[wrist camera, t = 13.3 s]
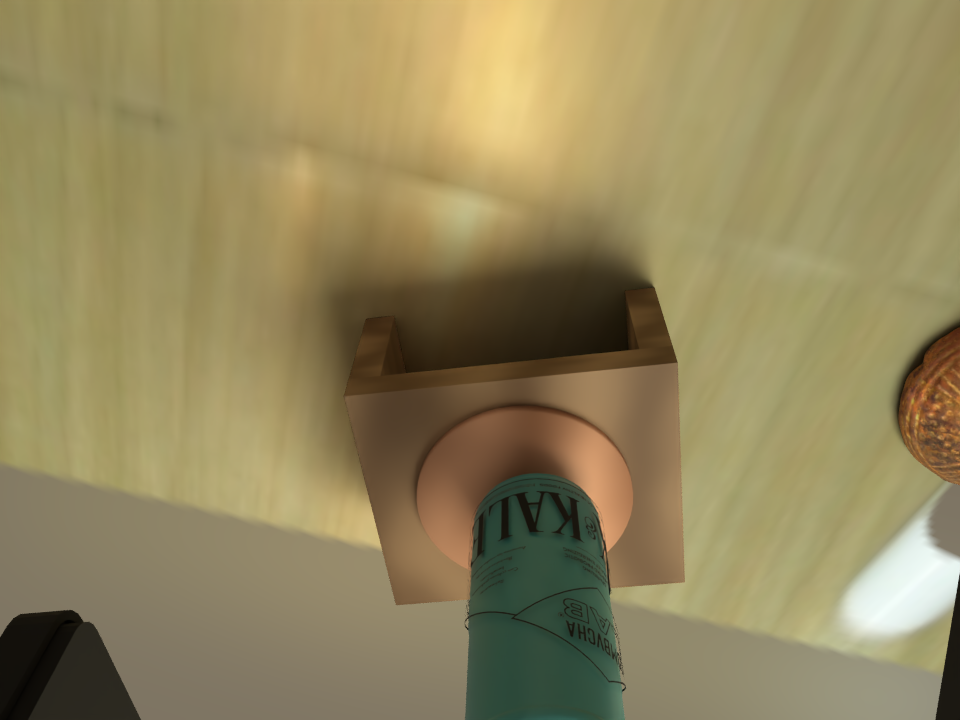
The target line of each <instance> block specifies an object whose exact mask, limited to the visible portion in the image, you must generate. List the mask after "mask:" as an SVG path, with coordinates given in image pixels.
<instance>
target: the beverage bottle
mask: <svg viewBox="0 0 960 720" xmlns="http://www.w3.org/2000/svg"><path fill="white" fill-rule="evenodd" d="M593 503H594V502H592V501H591V498H590V497H589V496H588V495H587V494H586V492H585V491H584V490H583V489H581V488H580V487H579V486H578V485H576V484H575V483H573V482H572V481H570V480H568V479H565V478H563V477H560V476H556V475H551V474H542V473H532V474H524V475H519V476H515V477H512V478H510V479H507V480H505V481H503V482H501V483H500V484H498V485H497V486H495V487H494V488H493V489H492V490H490V492H489V493H488V494H487V495H486V496H485V497H484V499H483V500H482V502H481V503H480V504H479V505H478V506H479V507H477V508H478V509H477V508H476V509H477V512H476V515H475V518H474V519H475V520H474V526H473V528H472V535H473V542H472V543H473V548H471V550H472V554H471V555H472V560H468V561H469V562H471V565H470V566H469V562H468V567H470V569H471V571H470V572H471V575H470V577H471V580H470V582H471V585H470V586H469V587H470V601H469V602H470V603H469V613H468V614H469V617H468V618H467V619H469V623H468V628H467V627H466V626H465V627H466V628H467V630H468V631H469V648H468V670H467V692H466V714H465V720H625V717H624V710H623V701H622V692H623V691H624V690H625V689H626V687H625V688H624V689H623V690H622V686H621V684H623V685H624V686H625V684H624V683H622V682H621V679H620V670H619V668H620V666H621V664H620V665H619V659H618V655H619V654H618V652H617V649H616V641H615V635H616V634H615V632H614V630H615V629H614V626H613V618H612V611H611V603H610V589H611V588H610V586H611V584H610V580H609V573H610V569H608V567H609V564H608V558H607V549H606V542H605V541H606V540H604V538H603V535H605V533H604V532H603V534H602V529H601V526H600V520H599V517H600V516H598V512H597V510H596V508H595V506H594V504H595V503H594V504H593ZM595 505H596V504H595ZM596 507H597V506H596ZM597 508H598V507H597ZM598 510H599V509H598ZM475 511H476V510H475ZM599 512H600V511H599ZM474 513H475V512H474ZM600 514H601V513H600ZM473 515H474V514H473ZM472 518H473V517H472ZM602 520H603V519H602ZM602 520H601V521H602ZM471 521H472V520H471ZM602 523H603V522H602ZM470 527H471V526H470ZM603 527H604V525H603ZM473 529H474V531H473ZM470 530H471V529H470ZM470 535H471V532H470ZM471 540H472V539H471ZM471 540H470V542H471ZM602 541H603V542H602ZM470 545H471V544H470ZM470 545H469V547H470ZM603 545H604V549H603ZM471 550H470V551H471ZM604 552H605V554H606V563H607V573H606V563H605V558H604ZM469 553H470V552H469ZM469 557H471V556H469ZM470 572H469V573H470ZM607 577H608V578H607ZM610 577H611V575H610ZM467 580H468V579H467ZM468 581H469V580H468ZM467 587H468V586H467ZM468 591H469V590H468ZM466 596H467V595H466ZM467 597H468V596H467ZM468 599H469V598H468ZM467 619H466V620H467ZM466 620H465V621H466ZM620 654H621V653H620ZM620 660H621V658H620ZM621 663H622V662H621ZM620 669H621V668H620ZM622 674H623V672H622Z"/></svg>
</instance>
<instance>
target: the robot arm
mask: <svg viewBox="0 0 960 720" xmlns="http://www.w3.org/2000/svg"><path fill="white" fill-rule="evenodd" d="M0 720H141V719H140V717H139V715H138V713H137V711H136V709H135V707H134V705H133V703H132V701H131V699H130V697H129V695H128V692H127V690H126V688H125V686H124V684H123V682H122V680H121V678H120V676H119V674H118V672H117V670H116V668H115V666H114V664H113V662H112V660H111V658H110V656H109V653H108V651H107V649H106V647H105V645H104V643H103V641H102V639H101V637H100V635H99V633H98V631H97V629H96V628H95V626H94V625H93V624H92V623H90V622H83V620H82V619H81V617H80V616H79V614H78V613H76V612H74V611H73V610H66V611H65V610H64V611H53V612H41V613H29V614H20V615H18V616H17V617H15V618H13V620H12V621H11V622H10V623H9V625H8V626H7V628H6V629H5V630H4V632H3V634H2V635H1V637H0ZM936 720H960V575H959V581H958V587H957V593H956V599H955V605H954V611H953V617H952V623H951V629H950V635H949V641H948V647H947V653H946V659H945V665H944V671H943V677H942V683H941V689H940V696H939V701H938V708H937V714H936Z"/></svg>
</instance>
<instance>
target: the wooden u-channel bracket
mask: <svg viewBox="0 0 960 720" xmlns="http://www.w3.org/2000/svg"><path fill="white" fill-rule="evenodd" d="M625 301H626V317H627V333H628V349H629V350H627V351H617V352H607V353H598V354H588V355H578V356H569V357H559V358H549V359H539V360H530V361H520V362H510V363H501V364H491V365H481V366H471V367H462V368H452V369H442V370H433V371H423V372H413V373H406V371H405V366H404V361H403V356H402V352H401V347H400V342H399V337H398V332H397V327H396V322H395V318H394V316H388V317H379V318H370V319H366V321H365V324H364V328H363V331H362V335H361V338H360V342H359V345H358V349H357V352H356V356H355V359H354V363H353V366H352V370H351V373H350V377H349V380H348V384H347V387H346V391H345V394H344V399H345V403H346V407H347V411H348V415H349V419H350V423H351V427H352V431H353V435H354V439H355V443H356V447H357V451H358V455H359V459H360V463H361V467H362V471H363V475H364V479H365V483H366V487H367V491H368V495H369V499H370V503H371V507H372V511H373V515H374V519H375V523H376V527H377V531H378V535H379V539H380V543H381V547H382V551H383V555H384V558H385V563H386V567H387V570H388V575H389V579H390V583H391V587H392V590H393V595H394V599H395V603H396V605H403V604H416V603H429V602H442V601H453V600H467V599H468V598H469V599H470V587H469V586H470V585H471V582H470V580H471V577H470V575H471V572H470V571H471V569H470V567H468V562H469V561H468V560H472V555H471V554H472V550H471V548H473V543H472V542H473V535H472V528H473V526H474V520H475V519H474V518H475V515H476V512H477V509H478V508H477V507H479V506H478V505H479V504H480V503H481V502H482V500H483V499H484V497H485V496H486V495H487V494H488V493H489V492H490V490H492V489H493V488H494V487H495V486H497V485H498V484H500V483H501V482H503V481H505V480H507V479H510V478H512V477H515V476H519V475H524V474H532V473H542V474H551V475H556V476H560V477H563V478H565V479H568V480H570V481H572V482H573V483H575V484H576V485H578V486H579V487H580V488H581V489H583V490H584V491H585V492H586V494H587V495H588V496H589V497H590V498H591V501H592V502H594V503H595V504H596V505H595V504H594V503H593V504H594V506H595V508H596V510H597V512H598V516H600V517H599V520H600V526H601V529H602V534H603V532H604V533H605V535H603V538H604V540H606V541H605V542H606V549H607V558H608V564H609V567H608V569H610V573H609V580H610V584H611V586H610V588H618V587H631V586H643V585H656V584H668V583H681V582H685V575H684V544H683V513H682V482H681V451H680V420H679V389H678V362H677V359H676V356H675V352H674V349H673V346H672V343H671V340H670V336H669V333H668V330H667V327H666V323H665V320H664V317H663V314H662V310H661V307H660V304H659V301H658V297H657V294H656V291H655V288H645V289H636V290H627V291H625ZM596 506H597V507H598V508H597V507H596ZM476 508H477V509H476ZM598 509H599V510H598ZM475 510H476V511H475ZM599 511H600V512H599ZM474 512H475V513H474ZM600 513H601V514H600ZM473 514H474V515H473ZM472 517H473V518H472ZM602 519H603V520H602ZM471 520H472V521H471ZM601 520H602V521H601ZM602 522H603V523H602ZM603 525H604V527H603ZM470 526H471V527H470ZM470 529H471V530H470ZM473 531H474V529H473ZM470 532H471V535H470ZM471 539H472V540H471ZM470 540H471V542H470ZM602 542H603V541H602ZM470 544H471V545H470ZM469 545H470V547H469ZM603 549H604V545H603ZM470 550H471V551H470ZM469 552H470V553H469ZM469 556H471V557H469ZM604 558H605V563H606V554H605V552H604ZM470 565H471V562H469V566H470ZM469 572H470V573H469ZM606 573H607V563H606ZM610 575H611V577H610ZM607 578H608V577H607ZM467 579H468V580H469V581H468V580H467ZM467 586H468V587H467ZM468 590H469V591H468ZM466 595H467V596H468V597H467V596H466Z"/></svg>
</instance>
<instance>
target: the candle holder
mask: <svg viewBox="0 0 960 720" xmlns="http://www.w3.org/2000/svg"><path fill="white" fill-rule="evenodd" d="M954 338H955V339H954ZM944 342H945V343H944ZM932 351H933V352H932ZM945 375H946V376H945ZM947 381H948V382H947ZM920 392H921V393H920ZM936 409H937V410H936ZM937 424H938V425H937ZM945 425H946V426H945ZM899 426H900V429H901V433H902V437H903V440H904V443H905V445H906V447H907V448H908V450H909V451H910V453H911V454H912V455H913V456H914V457H915V458H916V459H917V460H918V461H919V462H920V463H921V464H922V465H924V466H925V467H927V468H928V469H929V470H931V471H932V472H934V473H935V474H937V475H938V476H939V477H941V478H942V479H943V480H945V481H948V482H951V483H954V484H958V485H960V327H959V328H957V329H955V330H954V331H952V332H951V333H949V334H948V335H946V336H944V337H942V338H941V339H939V340H938V341H937V342H936V343H934V344H933V345H932V346H931V347H930V348H929V349H928V350H927V351H926V353H925V356H924V362H923V363H922V364H921V365H920V366H918V367H917V368H916V369H915V370H913V371H912V372H911V373H910V374H909V376H908V377H907V380H906V382H905V386H904V389H903V392H902V395H901V401H900V409H899ZM913 426H914V427H913ZM935 427H936V428H935ZM945 441H946V442H945ZM941 443H942V444H941ZM958 449H959V450H958ZM953 454H954V455H953Z"/></svg>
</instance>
